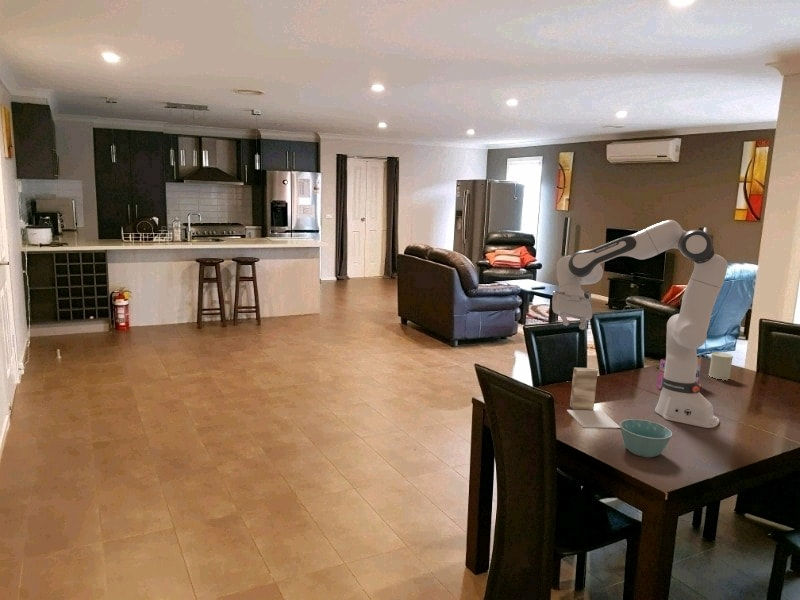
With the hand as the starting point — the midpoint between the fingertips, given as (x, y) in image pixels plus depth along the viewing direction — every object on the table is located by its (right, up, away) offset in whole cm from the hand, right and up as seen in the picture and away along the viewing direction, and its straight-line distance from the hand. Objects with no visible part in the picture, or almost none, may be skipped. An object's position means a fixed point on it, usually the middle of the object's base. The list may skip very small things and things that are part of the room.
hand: (574, 326), depth 234 cm
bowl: (+10, -39, -42) cm, 58 cm away
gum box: (+57, -29, +32) cm, 71 cm away
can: (+85, -27, +51) cm, 103 cm away
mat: (+2, -34, -15) cm, 37 cm away
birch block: (+2, -32, -3) cm, 32 cm away
